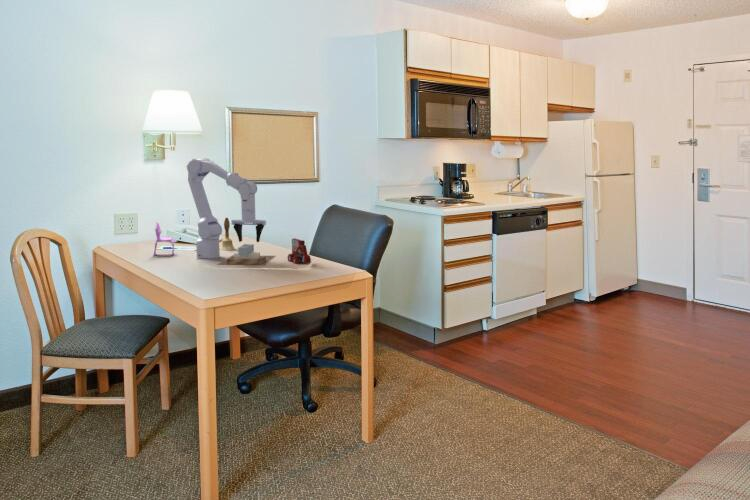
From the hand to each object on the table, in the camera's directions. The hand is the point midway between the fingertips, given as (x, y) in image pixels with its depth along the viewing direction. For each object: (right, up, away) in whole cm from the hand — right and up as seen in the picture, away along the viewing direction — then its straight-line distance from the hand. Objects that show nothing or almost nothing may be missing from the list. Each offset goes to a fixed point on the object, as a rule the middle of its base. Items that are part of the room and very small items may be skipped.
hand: (249, 241), depth 252 cm
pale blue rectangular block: (0, -5, -5) cm, 7 cm away
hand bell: (-16, -4, +28) cm, 32 cm away
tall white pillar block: (0, -9, -4) cm, 10 cm away
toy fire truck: (+22, -10, -2) cm, 24 cm away
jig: (-1, -9, +1) cm, 9 cm away
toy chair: (-43, -6, +17) cm, 47 cm away
